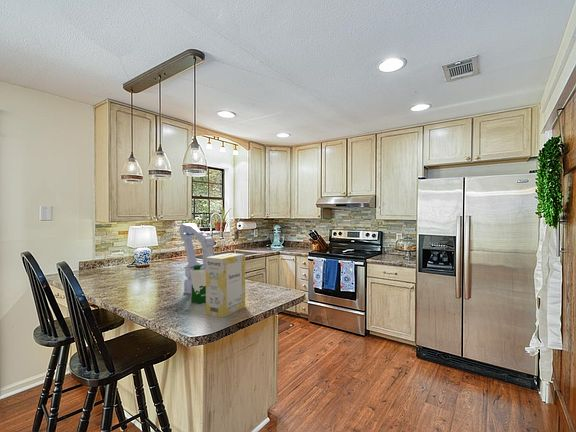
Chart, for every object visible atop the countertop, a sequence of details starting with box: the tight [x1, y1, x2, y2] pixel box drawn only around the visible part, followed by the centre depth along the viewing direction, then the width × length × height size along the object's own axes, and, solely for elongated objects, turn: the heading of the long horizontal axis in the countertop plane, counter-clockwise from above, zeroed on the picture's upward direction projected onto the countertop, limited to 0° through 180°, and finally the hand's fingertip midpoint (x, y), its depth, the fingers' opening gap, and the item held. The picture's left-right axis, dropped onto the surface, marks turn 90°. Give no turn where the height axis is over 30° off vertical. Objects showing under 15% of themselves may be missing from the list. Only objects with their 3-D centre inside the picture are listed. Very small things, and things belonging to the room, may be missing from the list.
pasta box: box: [205, 252, 246, 318], centre depth 151 cm, size 18×10×28 cm, turn 152°
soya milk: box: [190, 264, 206, 305], centre depth 167 cm, size 9×9×20 cm
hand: (208, 280), depth 174 cm, fingers closed
